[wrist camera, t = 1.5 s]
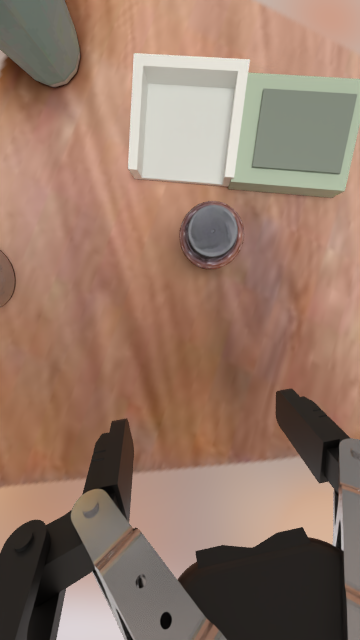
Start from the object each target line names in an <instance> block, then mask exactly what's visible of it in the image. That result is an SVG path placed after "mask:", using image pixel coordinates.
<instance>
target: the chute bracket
mask: <svg viewBox="0 0 360 640" xmlns="http://www.w3.org/2000/svg"><path fill="white" fill-rule="evenodd" d="M249 62H250V59H232V58H213V57H195V56H176V55H158V54H139V53H134V61H133V80H132V100H131V120H130V139H129V159H128V170H129V171H130V172H131V174H132V175H133V177H134V178H135V179H142V180H154V181H166V182H178V183H190V184H202V185H214V186H226V187H229V184H230V181H231V179H234V175H235V167H236V160H237V152H238V145H239V137H240V130H241V122H242V115H243V107H244V100H245V92H246V85H247V77H248V70H249Z"/></svg>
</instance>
